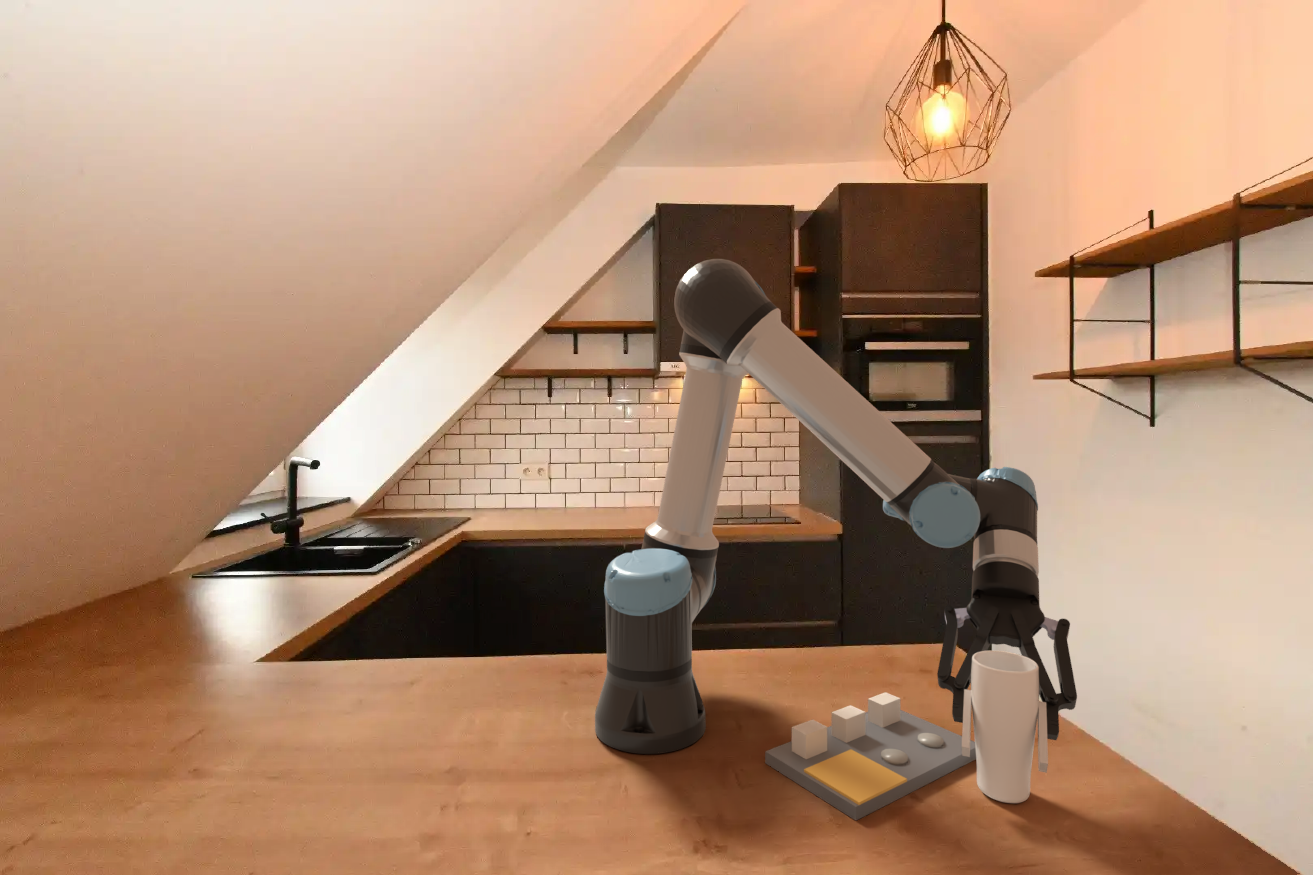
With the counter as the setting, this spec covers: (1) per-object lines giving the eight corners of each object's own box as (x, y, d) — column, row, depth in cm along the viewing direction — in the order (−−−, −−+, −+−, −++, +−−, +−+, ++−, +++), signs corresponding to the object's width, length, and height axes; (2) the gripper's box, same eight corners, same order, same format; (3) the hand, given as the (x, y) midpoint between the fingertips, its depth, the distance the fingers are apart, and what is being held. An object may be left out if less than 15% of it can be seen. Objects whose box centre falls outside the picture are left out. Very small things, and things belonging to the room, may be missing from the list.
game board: (765, 763, 83) (765, 727, 83) (887, 714, 96) (887, 683, 96) (855, 820, 72) (855, 778, 71) (981, 756, 84) (981, 720, 84)
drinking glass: (1035, 816, 72) (1037, 677, 71) (965, 797, 75) (967, 664, 74) (1039, 786, 77) (1041, 656, 77) (973, 769, 81) (975, 645, 80)
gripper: (1093, 599, 85) (1108, 793, 71) (924, 581, 93) (909, 751, 80) (1099, 566, 80) (1117, 768, 66) (920, 551, 88) (903, 727, 75)
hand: (1003, 759), depth 73 cm, fingers closed on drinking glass, 7 cm apart
